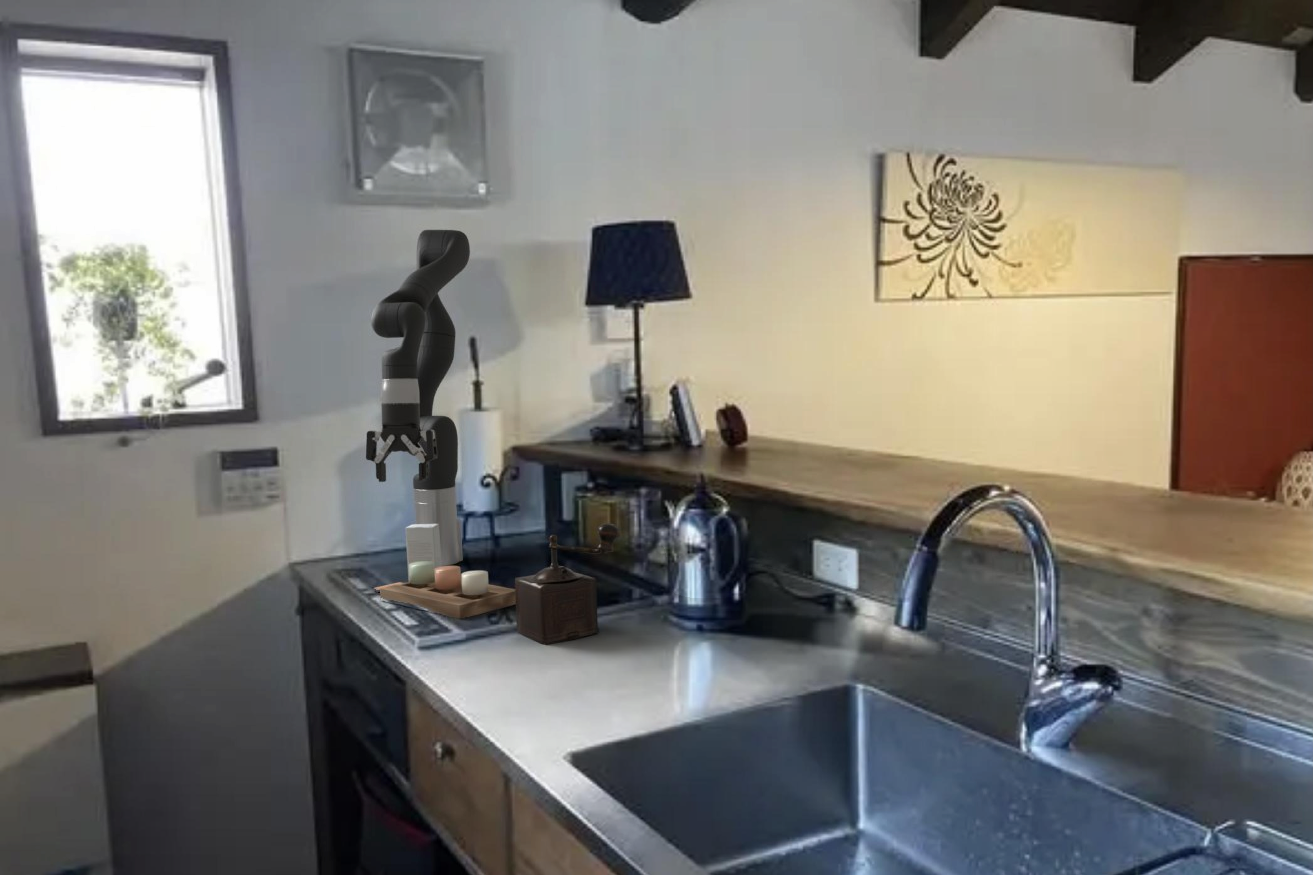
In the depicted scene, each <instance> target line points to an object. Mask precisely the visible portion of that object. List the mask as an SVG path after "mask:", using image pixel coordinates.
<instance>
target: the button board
mask: <svg viewBox="0 0 1313 875" xmlns="http://www.w3.org/2000/svg"><path fill="white" fill-rule="evenodd" d="M401 583H402V584H397V585H393V586H389V587H384V588H380V593H379V594H380V595H379V597H380V599H381V598H383V599H387V600H394V601H398V602H404V603H410V604H413V605H418V606H420V607H424V608H427V609H429V610H432V611H433V612H437V613H441V614H443V615H448V616H450V617H449V618H452V617H456V618H463V619H466V618H465V617H467V618H470V616H471V617H474V616H477V615H480V614H481V615H482V614H485V613H489V612H492V611H495V610H499V609H500V610H501V609H503V608H507V607H511V606H513V605H515V606H516V599H515V588H509V587H504V586H499V585H493V584H489V583H488V586H489V592H487V593H485V594H480V595H465V594H463V593H462V578H461V587H459V588H455V589H447V590H441V589H436V588H435V581H434V582H432V583H428V584H411V583H410V582H409V581H408V582H401ZM443 615H442V616H443ZM473 615H474V616H473ZM456 618H455V619H456Z"/></svg>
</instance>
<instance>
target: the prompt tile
mask: <svg viewBox="0 0 1313 875" xmlns="http://www.w3.org/2000/svg"><path fill="white" fill-rule="evenodd" d="M402 583H403V582H401V581H399V582H395V583H390V584H386V585H380V586H376V587H374V588H373V590H374V589H376V590H380V588H384V587H389V586H393V585H397V584H402Z"/></svg>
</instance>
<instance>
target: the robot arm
mask: <svg viewBox="0 0 1313 875" xmlns="http://www.w3.org/2000/svg"><path fill="white" fill-rule="evenodd" d="M470 253H471V250H470V241H469V238H468V236H467V234H465V232H463V231H461V230H456V229H424V230H422V231H421V232H420V233H419V236H418V239H417V243H416V270H415V271H413V272H411V273H410V274H409V275H408V276H407V277H406V278H405V280H404V281H403V282H402V283H401V285H400V287H398V289H397V290H396V291H394V292H392V293H390V294H389V295H388V296H386V297H384V298H383V299H382V300H380V301H379V302H378V303H377V304H376V305H375V307H374V309H373V311H372V314H371V318H370V323H371V327H372V329H373V330H372V331H374V332H375V334H376V335H377V336H379V337H381V338H385V339H391V338H392V339H393V338H394V339H395V338H403V339H402V341H401V344H400V345H398V347H396V348H393V349H388V350H385V351H384V352H383V353H382V355H381V379H382V380H381V387H380V392H381V393H380V394H381V395H380V402H381V427H382V428H381V430H380V431H379V430H378V431H376V430H368V431H367V432H366V446H365V447H366V448H365V459H366V460H367V461H371V462H373V463H374V464H375V478H376V480H378V482H379V483H383V482H386V481H387V464H386V462H385V461H386V460H387V458H388V457H389V456H390V454H392V452H394V453H396V452H397V453H398V452H404V453H408V454H409V455H411V456H413V457H415V458H416V459H417V460H418V461H419V463H418V473H417V474H415V475H413V478H412V483H413V484H412V485H413V486H412V487H413V502H414V521H415V523H414V524H439V533H440V548H441V564H442V566H453V565H455V564H457V563H459V562H462V561H463V542H462V540H463V539H462V538H463V536H462V521H461V519H460V518H458V511H457V494H456V493H457V492H456V491H457V490H456V479H457V475H458V470H459V467H458V466H459V463H458V461H459V457H458V456H459V451H458V450H459V441H458V440H459V439H458V438H459V436H458V431H457V427H456V424H455V422H454V421H453V419H451V417H449V416H446V415H433V407H434V402H435V396H436V395H437V391H438V389H439V387H440V385H441V383H442V381H443V380H444V378H445V377H446V376H447V373H448V371H449V370H450V368H451V366H452V364H453V361H454V358H455V349H456V348H455V346H456V327H455V324H454V322H453V320H452V318H451V316H450V314H449V312H448V310H447V308H446V307H445V305H444V304H443V302H442V300H441V298H440V295H439V292H440V291H441V290H442V289H443V288H444V287H445V286H447V285H448V283H450V282H451V281H453V279H455V277H457V276H458V275H459V274H460V273H461V272H462V271H463V270H465V268H466V267H467V264H468V262H469V261H470V260H469V259H470V256H471V254H470ZM380 438H381V440H382V441H383V442H384V443H383V445H382V447H381V448H380V450H379V452H378V453H377V448H378V447H377V446H378V442H379V440H380Z"/></svg>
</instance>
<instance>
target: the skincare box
mask: <svg viewBox="0 0 1313 875" xmlns="http://www.w3.org/2000/svg"><path fill="white" fill-rule="evenodd" d="M404 529H405V543H406V558H407V560H406V561H407V575H408V578H407V579H408V582H410V575H409V564H410V563H414V562H420V561H431V562H434V567H435V568H438V567H442V564H441V548H440V533H439V524H415V523H413V524H412V523H411V524H410V525H408V526H406V527H404Z"/></svg>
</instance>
